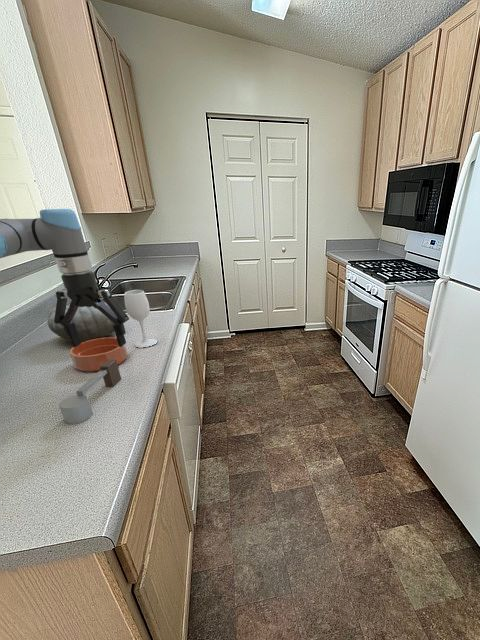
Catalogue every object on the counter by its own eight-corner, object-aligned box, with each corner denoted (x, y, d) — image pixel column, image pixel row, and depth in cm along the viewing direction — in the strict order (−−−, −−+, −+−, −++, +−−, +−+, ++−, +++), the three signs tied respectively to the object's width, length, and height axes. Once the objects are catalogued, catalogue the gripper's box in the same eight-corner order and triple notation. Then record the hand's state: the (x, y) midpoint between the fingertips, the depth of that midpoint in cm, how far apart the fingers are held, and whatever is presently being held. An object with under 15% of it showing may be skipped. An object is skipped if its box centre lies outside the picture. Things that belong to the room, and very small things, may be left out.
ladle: (83, 424, 86) (75, 401, 83) (59, 424, 86) (50, 401, 83) (127, 378, 107) (122, 359, 104) (107, 378, 107) (102, 359, 104)
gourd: (93, 346, 124) (76, 300, 119) (40, 351, 130) (22, 308, 124) (136, 329, 147) (123, 290, 142) (90, 334, 153) (76, 297, 147)
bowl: (64, 372, 111) (58, 356, 108) (92, 352, 126) (87, 337, 123) (113, 372, 111) (108, 356, 108) (135, 351, 126) (132, 337, 123)
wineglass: (134, 349, 127) (120, 296, 118) (134, 341, 134) (121, 290, 125) (158, 345, 130) (147, 293, 121) (157, 338, 138) (146, 288, 128)
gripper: (20, 276, 85) (49, 350, 95) (115, 274, 85) (135, 350, 94) (41, 270, 92) (66, 340, 101) (129, 268, 91) (147, 339, 101)
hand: (99, 345), depth 98 cm, fingers open, 13 cm apart
